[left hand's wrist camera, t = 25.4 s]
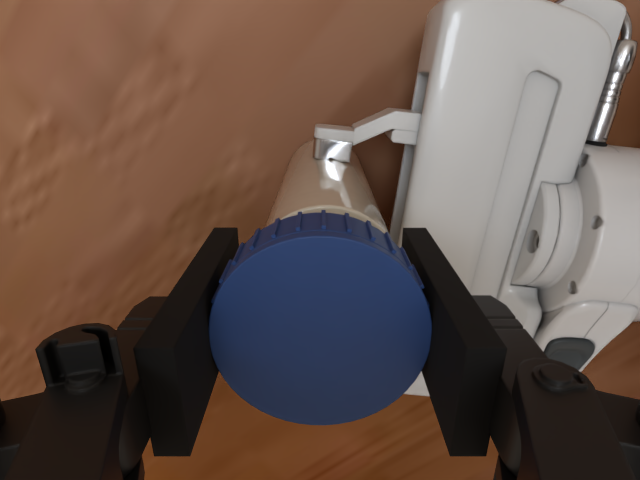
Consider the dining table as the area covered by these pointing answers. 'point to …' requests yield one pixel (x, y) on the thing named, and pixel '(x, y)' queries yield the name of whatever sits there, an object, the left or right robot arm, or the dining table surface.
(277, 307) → the lid
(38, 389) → the dining table surface
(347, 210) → the jar
